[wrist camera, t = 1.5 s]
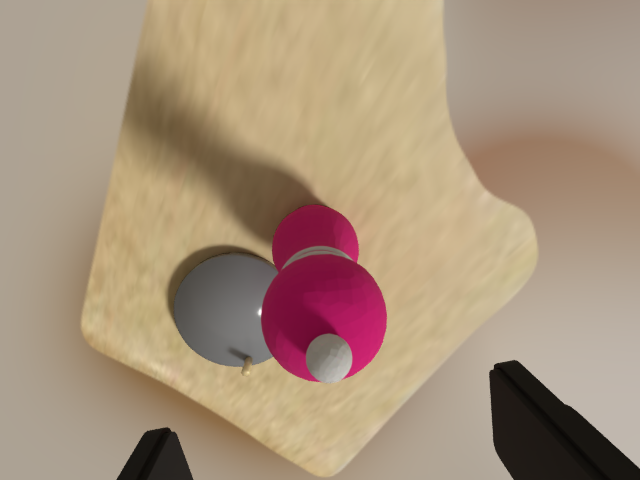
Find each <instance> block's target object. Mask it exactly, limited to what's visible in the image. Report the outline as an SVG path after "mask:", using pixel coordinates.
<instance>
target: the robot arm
mask: <svg viewBox="0 0 640 480" xmlns="http://www.w3.org/2000/svg"><path fill="white" fill-rule="evenodd" d="M489 375H490V376H489V378H490V393H491V410H492V426H493V442H494V446H495V450H496V452H497V454H498V456H499V458H500V459H501V461H502V463H503V464H504V466H505V467H506V469H507V470H508V472H509V473H510V475H511V476H512V478H513V479H514V480H640V469H639V468H638V467H637V466H636V465H635V464H634V463H633V462H632V461H631V460H630V459H629V458H628V457H626V456H625V455H624V454H623V453H622V452H621V451H620V450H619V449H618V448H616V447H615V446H614V445H613V444H612V443H611V442H610V441H609V440H608V439H607V438H606V437H604V436H603V435H602V434H601V433H600V432H599V431H598V430H596V428H595V427H593V426H592V425H591V424H590V423H589V422H588V421H587V420H586V419H585V418H583V416H581V415H580V414H579V413H578V412H577V411H576V410H574V409H573V408H572V407H570V406H568V405H565V404H564V403H563V402H562V401H560V400H559V399H558V398H557V397H556V396H555V395H554V394H553V393H552V392H551V391H550V390H548V388H546V387H545V386H544V385H543V384H542V383H541V382H540V381H539V380H538V379H537V378H536V377H534V376H533V375H532V374H531V373H530V372H529V371H528V370H527V369H526V368H525V367H524V366H523V365H522V364H521V363H519V362H518V361H515V360H512V361H507V362H502V363H497V364H495V365H494V370H491V371H490V372H489ZM117 480H193V478H192V475H191V472H190V469H189V466H188V464H187V461H186V458H185V455H184V453H183V450H182V448H181V445H180V442H179V439H178V437H177V434H176V433H175V432H171V430H170V429H169V428H160V429H155V430H150V431H147V432H145V433H144V435H143V436H142V438H141V440H140V441H139V443H138V444H137V446H136V448H135V449H134V451H133V453H132V455H131V456H130V458H129V459H128V461H127V463H126V465H125V466H124V468H123V470H122V471H121V473H120V475H119V476H118V478H117Z"/></svg>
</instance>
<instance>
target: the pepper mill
mask: <svg viewBox="0 0 640 480" xmlns="http://www.w3.org/2000/svg"><path fill="white" fill-rule="evenodd" d="M272 254H273V261H274V264H275V267H276V269H277V271H278V274H277V275H276V276H275V278H274V279H273V280H272V282H271V284H270V286H269V287H268V289H267V292H266V294H265V296H264V299H263V304H262V310H261V326H262V333H263V336H264V340H265V343H266V345H267V347H268V349H269V351H270V353H271V354H272V355H273V357H274V358H275V359H276V360H277V361H278V363H279V364H280V365H281V366H282V367H283V368H284V369H286V370H287V371H288V372H290V373H292V374H293V375H295V376H297V377H300V378H303V379H305V380H308V381H316V382H324V383H334V382H338V381H340V380H342V379H345V378H347V377H350V376H353V375H354V374H356V373H357V372H359V371H360V370H361V369H363V368H364V367H365V366H366V365H367V364H368V363H370V362H371V361H372V359H373V358H374V357H375V355H376V354H377V353H378V351H379V349H380V347H381V345H382V343H383V339H384V335H385V331H386V322H387V313H386V306H385V302H384V299H383V296H382V293H381V290H380V288H379V287H378V285H377V283H376V282H375V280H374V278H373V277H372V276H371V275H370V274H369V273H368V272H367V270H366V269H365V268H363V267H362V266H360V265H359V264H357V260H358V255H359V246H358V240H357V236H356V233H355V231H354V229H353V227H352V225H351V224H350V222H349V221H348V220H347V219H346V218H345V217H344V216H343V215H342V214H340V213H339V212H337V211H335V210H333V209H331V208H329V207H325V206H322V205H306V206H303V207H300V208H298V209H297V210H295V211H293V212H292V213H290V214H289V215H288V216H286V217H285V218H284V219H283V220H282V222H281V223H280V224H279V226H278V228H277V229H276V232H275V234H274V237H273V243H272Z"/></svg>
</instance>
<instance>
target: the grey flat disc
mask: <svg viewBox="0 0 640 480" xmlns="http://www.w3.org/2000/svg"><path fill="white" fill-rule="evenodd" d="M277 274H278V271H277V269H276V267H275V265H273V264H272V263H270V262H269V261H267V260H265V259H263V258H260V257H258V256H255V255H251V254H246V253H225V254H220V255H216V256H213V257H211V258H208V259H207V260H205V261H203V262H201V263H200V264H199V265H197V266H196V267H195V268H194V269H193V270H192V271H191V272H190V273H189V274H188V275H187V276H186V277H185V278H184V280H183V281H182V283H181V284H180V286H179V288H178V290H177V293H176V296H175V301H174V319H175V322H176V326H177V328H178V331H179V333H180V335H181V336H182V338H183V339H184V341H185V342H186V343H187V345H188V346H189V347H190V348H191V349H192V350H194V351H195V352H196V353H197V354H199V355H200V356H202V357H204V358H205V359H207V360H209V361H212V362H214V363H217V364H220V365H225V366H233V367H243V369H242V372H241V373H242V375H243V376H248V375H249V374H250V370H251V366H252V365H255V364H259V363H261V362H264V361H266V360H268V359H270V358H272V357H273V355H272V354H271V353H270V351H269V349H268V347H267V345H266V343H265V340H264V336H263V333H262V326H261V310H262V304H263V299H264V296H265V294H266V292H267V289H268V287H269V286H270V284H271V282H272V280H273V279H274V278H275V276H276V275H277Z"/></svg>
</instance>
